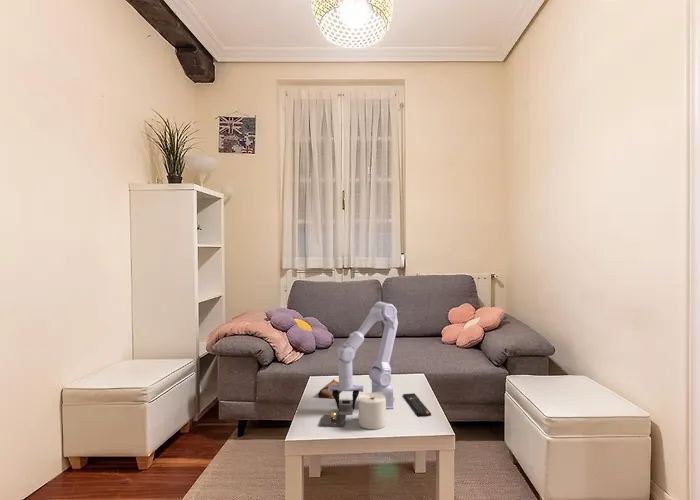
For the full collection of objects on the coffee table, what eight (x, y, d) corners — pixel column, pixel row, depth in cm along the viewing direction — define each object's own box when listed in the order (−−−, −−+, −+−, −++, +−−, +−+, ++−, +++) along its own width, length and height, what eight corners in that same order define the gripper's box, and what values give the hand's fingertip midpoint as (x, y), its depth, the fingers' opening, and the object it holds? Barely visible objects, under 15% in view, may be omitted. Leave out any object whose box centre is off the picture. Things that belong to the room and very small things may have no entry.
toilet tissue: (358, 429, 158) (358, 403, 158) (358, 416, 170) (358, 391, 170) (387, 429, 158) (386, 403, 158) (385, 416, 170) (385, 391, 170)
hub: (346, 417, 170) (345, 408, 170) (343, 426, 161) (343, 417, 161) (323, 416, 171) (323, 408, 170) (320, 426, 162) (320, 417, 162)
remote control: (414, 396, 193) (414, 393, 193) (431, 417, 169) (431, 414, 169) (403, 397, 192) (403, 394, 192) (418, 418, 169) (418, 415, 169)
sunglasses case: (335, 399, 189) (328, 385, 190) (323, 406, 191) (316, 392, 192) (348, 386, 207) (341, 374, 208) (336, 392, 209) (330, 380, 210)
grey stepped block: (353, 409, 178) (353, 399, 178) (352, 414, 172) (352, 404, 172) (340, 409, 178) (340, 399, 178) (338, 414, 173) (338, 404, 173)
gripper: (363, 373, 178) (364, 405, 178) (329, 372, 180) (330, 404, 180) (362, 378, 171) (363, 411, 171) (327, 377, 173) (327, 411, 173)
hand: (346, 408), depth 175 cm, fingers closed on grey stepped block, 6 cm apart
